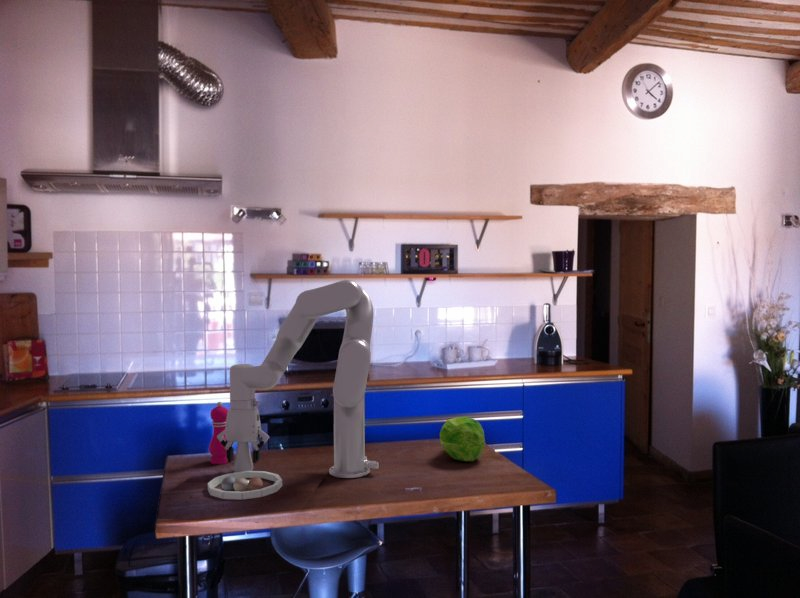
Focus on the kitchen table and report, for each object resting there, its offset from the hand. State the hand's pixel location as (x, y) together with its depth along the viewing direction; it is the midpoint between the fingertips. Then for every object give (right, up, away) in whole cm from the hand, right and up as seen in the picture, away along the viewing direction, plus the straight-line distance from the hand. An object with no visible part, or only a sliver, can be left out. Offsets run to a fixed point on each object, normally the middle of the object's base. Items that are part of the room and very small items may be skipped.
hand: (243, 461), depth 200 cm
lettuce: (+69, -4, +21) cm, 72 cm away
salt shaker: (0, -5, 0) cm, 5 cm away
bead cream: (+4, -3, -20) cm, 21 cm away
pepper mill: (-11, -4, +15) cm, 20 cm away
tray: (+4, -5, -15) cm, 17 cm away
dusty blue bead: (0, -4, -18) cm, 19 cm away
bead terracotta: (+7, -4, -19) cm, 21 cm away
